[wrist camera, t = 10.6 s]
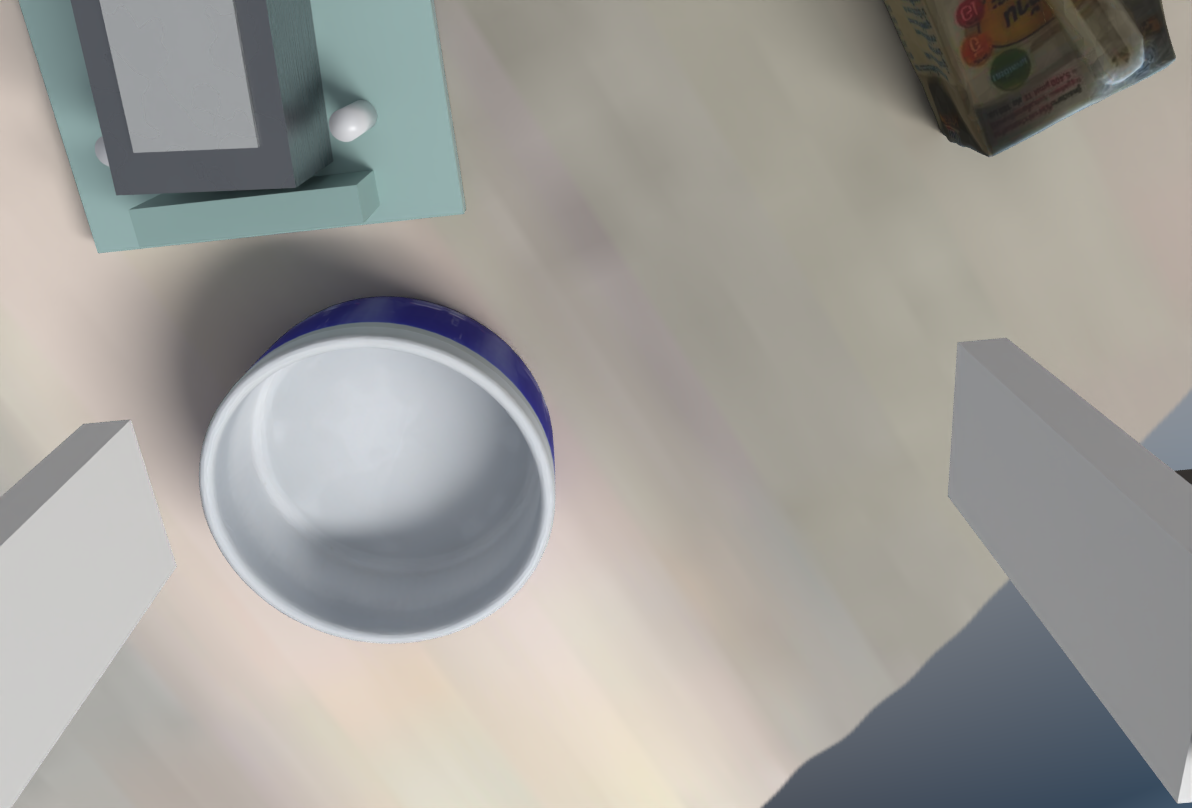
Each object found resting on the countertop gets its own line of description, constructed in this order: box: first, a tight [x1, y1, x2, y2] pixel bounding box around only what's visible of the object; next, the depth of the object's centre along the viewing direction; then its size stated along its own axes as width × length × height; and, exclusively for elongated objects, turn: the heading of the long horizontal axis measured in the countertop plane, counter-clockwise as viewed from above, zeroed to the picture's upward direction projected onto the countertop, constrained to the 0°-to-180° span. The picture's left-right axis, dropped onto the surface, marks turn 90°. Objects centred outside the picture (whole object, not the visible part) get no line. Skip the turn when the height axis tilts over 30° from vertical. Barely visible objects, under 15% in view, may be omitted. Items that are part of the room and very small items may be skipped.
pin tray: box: [19, 0, 466, 253], centre depth 37 cm, size 16×16×4 cm
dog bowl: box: [199, 297, 555, 644], centre depth 44 cm, size 15×15×6 cm
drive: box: [70, 0, 333, 196], centre depth 35 cm, size 10×6×6 cm, turn 2°
